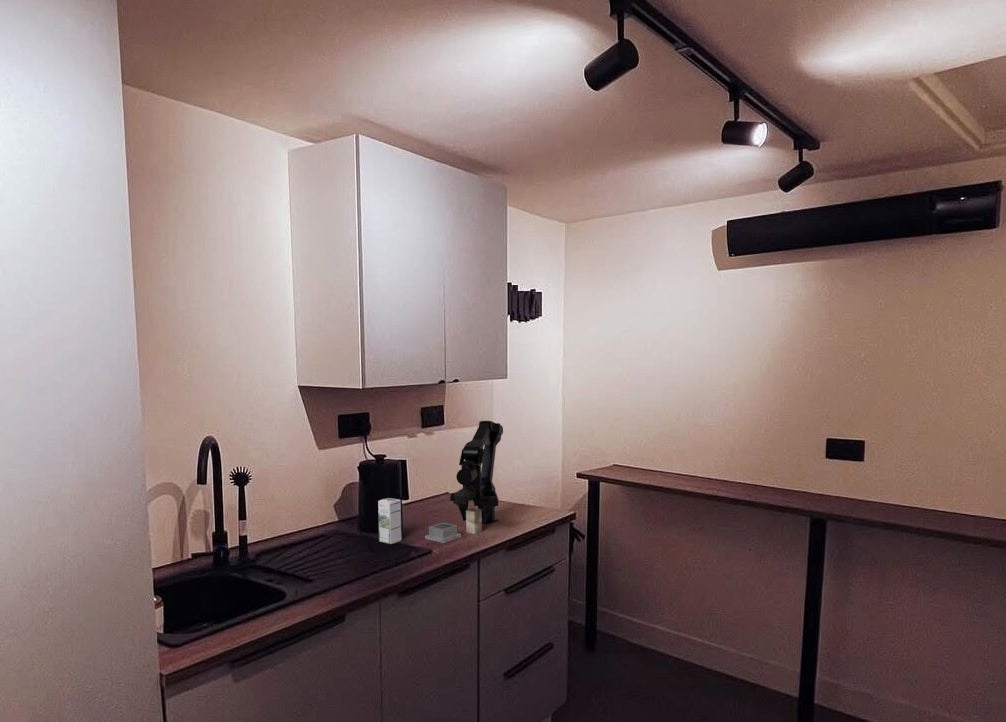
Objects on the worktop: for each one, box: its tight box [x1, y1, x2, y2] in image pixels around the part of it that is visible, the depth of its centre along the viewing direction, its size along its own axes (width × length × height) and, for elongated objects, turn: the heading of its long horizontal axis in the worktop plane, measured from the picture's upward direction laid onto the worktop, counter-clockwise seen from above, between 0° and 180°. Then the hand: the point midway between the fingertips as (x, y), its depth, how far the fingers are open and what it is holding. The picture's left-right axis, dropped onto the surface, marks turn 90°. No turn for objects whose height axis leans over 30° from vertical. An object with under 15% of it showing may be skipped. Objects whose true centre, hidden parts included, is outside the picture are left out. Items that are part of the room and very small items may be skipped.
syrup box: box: [377, 497, 402, 545], centre depth 212 cm, size 6×6×14 cm
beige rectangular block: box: [465, 507, 483, 535], centre depth 222 cm, size 4×4×8 cm
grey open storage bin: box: [424, 522, 462, 544], centre depth 215 cm, size 9×9×4 cm
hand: (474, 522), depth 222 cm, fingers open, 9 cm apart
